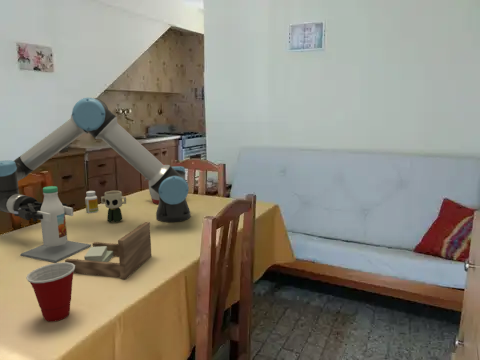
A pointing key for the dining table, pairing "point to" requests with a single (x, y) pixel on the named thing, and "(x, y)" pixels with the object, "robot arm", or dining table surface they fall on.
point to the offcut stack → (99, 254)
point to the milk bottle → (53, 218)
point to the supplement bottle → (91, 202)
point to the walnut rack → (120, 255)
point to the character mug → (113, 205)
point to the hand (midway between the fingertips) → (61, 214)
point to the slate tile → (55, 251)
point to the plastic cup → (53, 289)
